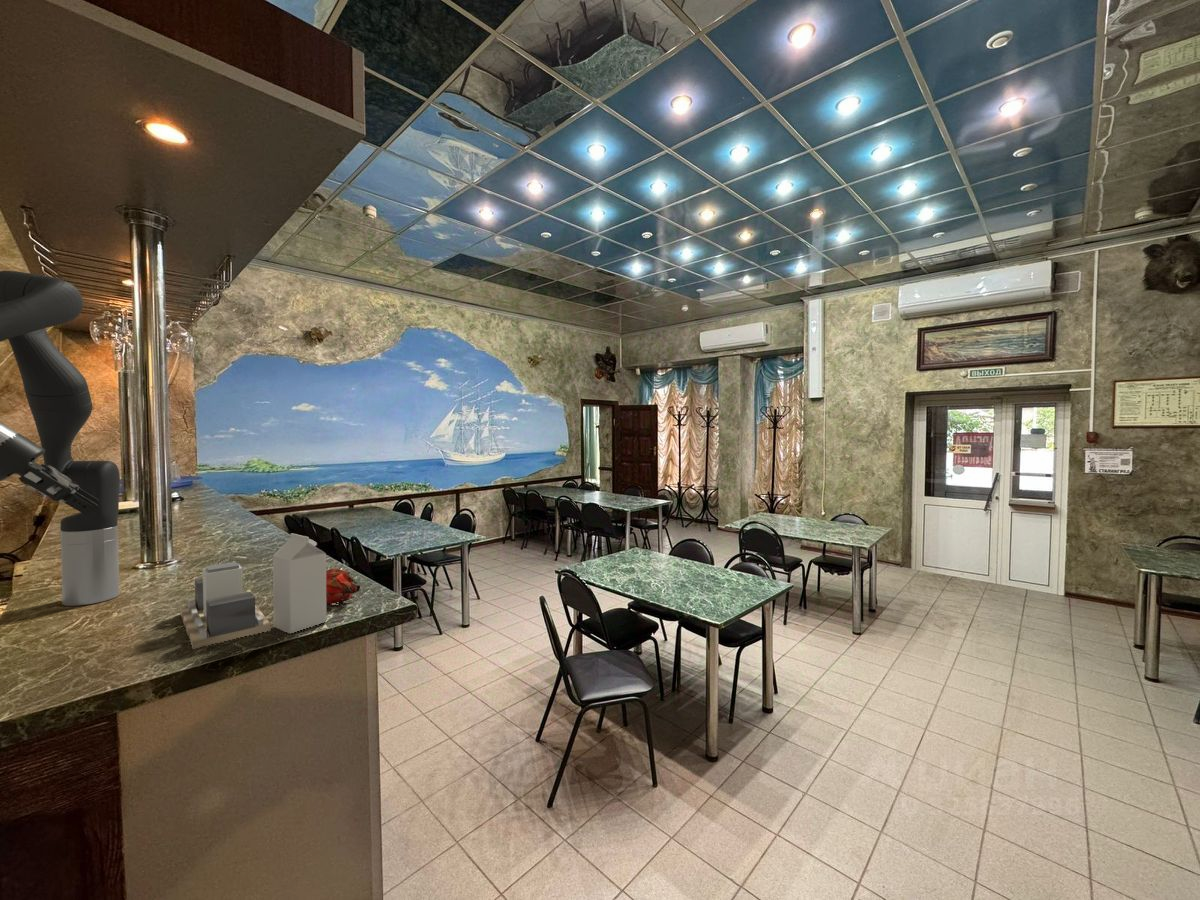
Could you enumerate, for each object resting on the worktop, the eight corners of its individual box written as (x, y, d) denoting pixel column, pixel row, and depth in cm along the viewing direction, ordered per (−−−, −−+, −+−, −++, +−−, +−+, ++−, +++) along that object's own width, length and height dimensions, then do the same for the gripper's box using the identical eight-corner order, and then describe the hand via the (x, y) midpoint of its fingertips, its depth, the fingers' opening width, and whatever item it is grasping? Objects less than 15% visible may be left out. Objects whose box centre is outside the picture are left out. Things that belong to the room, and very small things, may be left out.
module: (203, 615, 99) (202, 566, 99) (238, 608, 103) (238, 560, 103) (206, 622, 96) (205, 571, 95) (243, 614, 100) (242, 565, 100)
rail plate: (180, 614, 104) (179, 580, 103) (247, 601, 112) (247, 570, 112) (192, 649, 87) (192, 609, 87) (270, 630, 96) (270, 594, 95)
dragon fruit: (326, 601, 117) (350, 619, 110) (297, 589, 111) (320, 607, 104) (348, 570, 120) (373, 586, 114) (321, 557, 114) (345, 572, 107)
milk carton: (290, 635, 94) (289, 540, 93) (273, 627, 97) (272, 536, 97) (326, 623, 100) (326, 534, 99) (309, 616, 103) (308, 530, 103)
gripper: (10, 432, 76) (114, 496, 85) (22, 431, 86) (114, 489, 94) (-44, 466, 72) (70, 529, 81) (-25, 461, 82) (75, 518, 91)
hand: (94, 508), depth 88 cm, fingers open, 8 cm apart
